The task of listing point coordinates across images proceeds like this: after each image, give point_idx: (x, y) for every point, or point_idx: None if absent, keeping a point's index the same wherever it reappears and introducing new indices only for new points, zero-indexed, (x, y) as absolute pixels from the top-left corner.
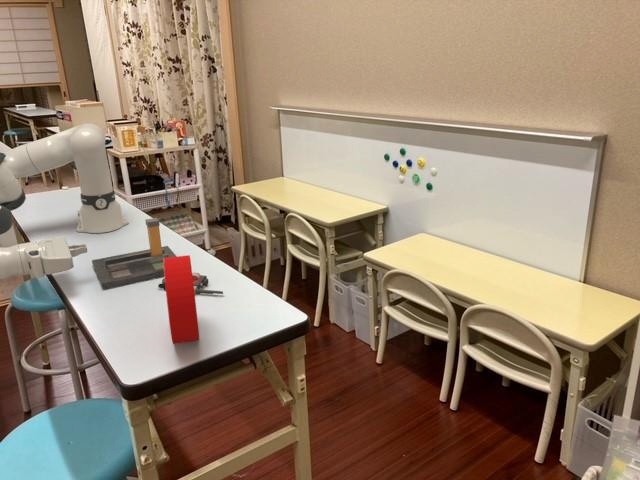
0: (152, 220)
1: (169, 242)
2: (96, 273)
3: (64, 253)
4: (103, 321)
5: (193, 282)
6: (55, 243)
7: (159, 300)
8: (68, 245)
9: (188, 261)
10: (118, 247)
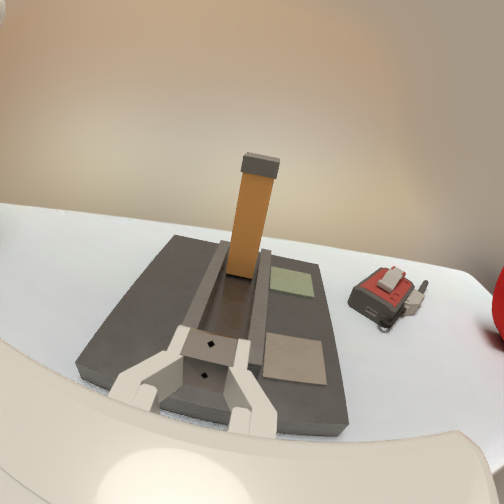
0: (266, 157)
1: (131, 230)
2: (180, 410)
3: (410, 475)
4: (494, 437)
5: (409, 285)
6: (22, 449)
7: (431, 345)
8: (121, 401)
9: None
10: (42, 275)
